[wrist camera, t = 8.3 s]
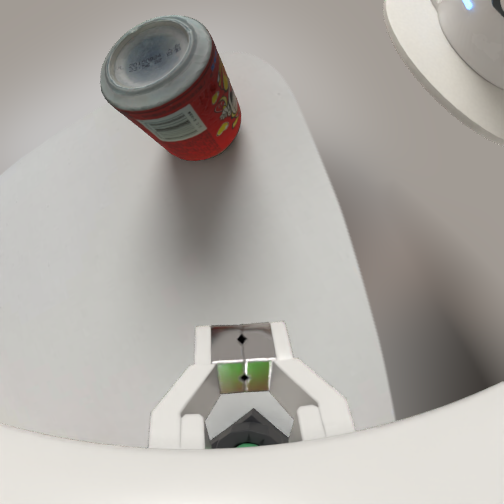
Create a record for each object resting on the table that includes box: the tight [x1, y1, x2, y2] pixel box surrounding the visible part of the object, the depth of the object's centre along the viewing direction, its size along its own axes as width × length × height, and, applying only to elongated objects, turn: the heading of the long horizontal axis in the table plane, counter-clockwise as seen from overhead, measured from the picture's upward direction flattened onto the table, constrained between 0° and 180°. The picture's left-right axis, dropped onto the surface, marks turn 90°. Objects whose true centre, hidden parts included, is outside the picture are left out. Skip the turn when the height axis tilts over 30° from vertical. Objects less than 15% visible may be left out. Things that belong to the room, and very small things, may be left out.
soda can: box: [100, 15, 241, 161], centre depth 20 cm, size 7×7×12 cm
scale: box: [210, 408, 289, 449], centre depth 24 cm, size 14×12×3 cm
